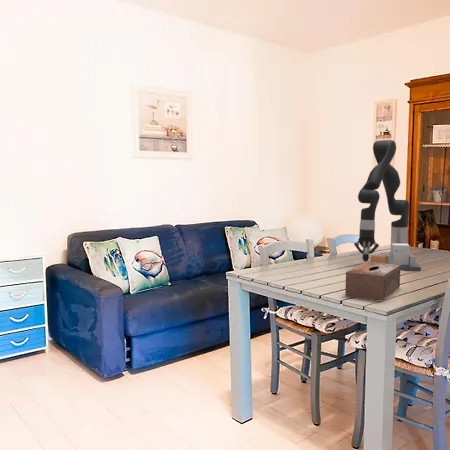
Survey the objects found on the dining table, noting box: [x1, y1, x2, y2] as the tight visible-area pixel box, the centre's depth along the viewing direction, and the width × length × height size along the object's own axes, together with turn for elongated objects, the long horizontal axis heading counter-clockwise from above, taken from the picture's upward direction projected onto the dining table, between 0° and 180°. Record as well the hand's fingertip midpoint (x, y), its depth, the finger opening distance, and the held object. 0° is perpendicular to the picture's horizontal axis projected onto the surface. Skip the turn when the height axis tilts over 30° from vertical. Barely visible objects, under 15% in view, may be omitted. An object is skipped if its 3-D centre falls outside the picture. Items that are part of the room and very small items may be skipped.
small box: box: [390, 243, 410, 265], centre depth 234 cm, size 8×6×10 cm
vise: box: [364, 252, 422, 272], centre depth 236 cm, size 12×26×7 cm, turn 76°
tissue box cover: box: [345, 261, 401, 302], centre depth 187 cm, size 26×14×10 cm, turn 145°
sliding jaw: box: [369, 251, 393, 264], centre depth 237 cm, size 12×10×5 cm
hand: (365, 261), depth 239 cm, fingers closed
